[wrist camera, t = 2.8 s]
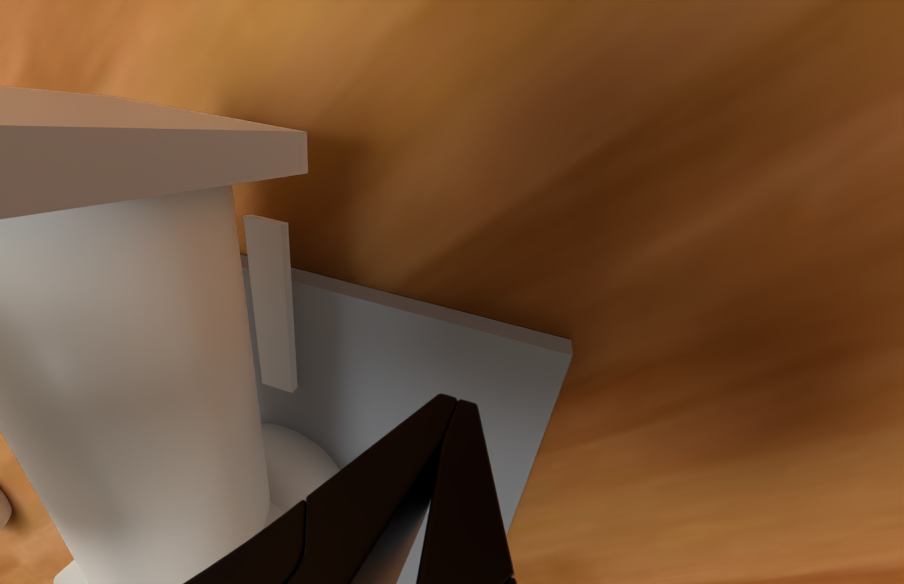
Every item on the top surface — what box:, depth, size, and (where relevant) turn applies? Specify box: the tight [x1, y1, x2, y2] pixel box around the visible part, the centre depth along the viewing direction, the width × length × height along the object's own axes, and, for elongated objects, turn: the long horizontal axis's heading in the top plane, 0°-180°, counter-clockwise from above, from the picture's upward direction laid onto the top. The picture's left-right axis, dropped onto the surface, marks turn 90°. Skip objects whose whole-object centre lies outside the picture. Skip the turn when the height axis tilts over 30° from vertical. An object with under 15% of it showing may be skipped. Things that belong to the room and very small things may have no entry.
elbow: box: [0, 86, 308, 584], centre depth 9 cm, size 17×6×5 cm, turn 171°
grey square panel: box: [240, 214, 573, 584], centre depth 14 cm, size 20×20×3 cm
